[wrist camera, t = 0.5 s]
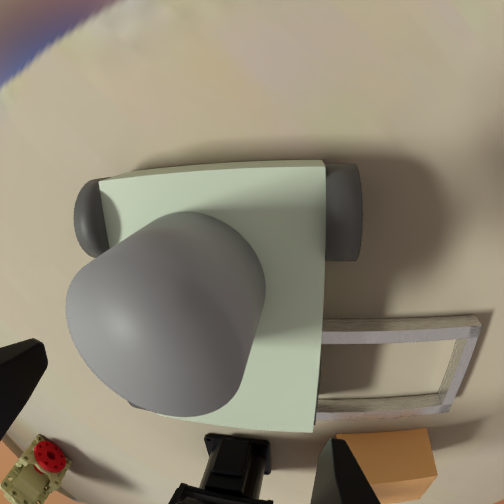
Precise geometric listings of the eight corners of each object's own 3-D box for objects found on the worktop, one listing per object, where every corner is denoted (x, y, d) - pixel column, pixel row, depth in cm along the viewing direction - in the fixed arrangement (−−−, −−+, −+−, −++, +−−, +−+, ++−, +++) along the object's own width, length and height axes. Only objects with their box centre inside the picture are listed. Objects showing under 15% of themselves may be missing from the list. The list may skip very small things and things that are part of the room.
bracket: (443, 399, 22) (448, 411, 21) (313, 407, 25) (312, 420, 23) (474, 314, 19) (482, 325, 18) (319, 319, 21) (319, 331, 20)
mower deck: (333, 395, 24) (333, 502, 15) (158, 380, 26) (109, 465, 17) (349, 160, 17) (392, 189, 8) (113, 173, 20) (2, 211, 11)
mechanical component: (92, 435, 46) (55, 507, 26) (56, 471, 45) (23, 531, 25) (59, 407, 45) (10, 471, 25) (27, 447, 44) (-14, 503, 24)
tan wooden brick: (414, 453, 26) (421, 498, 20) (330, 459, 27) (329, 507, 22) (428, 426, 24) (440, 474, 18) (336, 433, 26) (336, 485, 20)
